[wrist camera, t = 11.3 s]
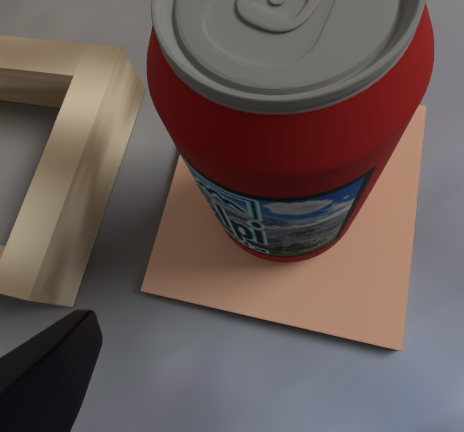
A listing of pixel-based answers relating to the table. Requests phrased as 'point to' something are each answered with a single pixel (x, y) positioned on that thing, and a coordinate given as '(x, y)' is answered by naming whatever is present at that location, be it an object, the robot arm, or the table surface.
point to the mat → (303, 272)
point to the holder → (66, 159)
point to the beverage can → (288, 108)
